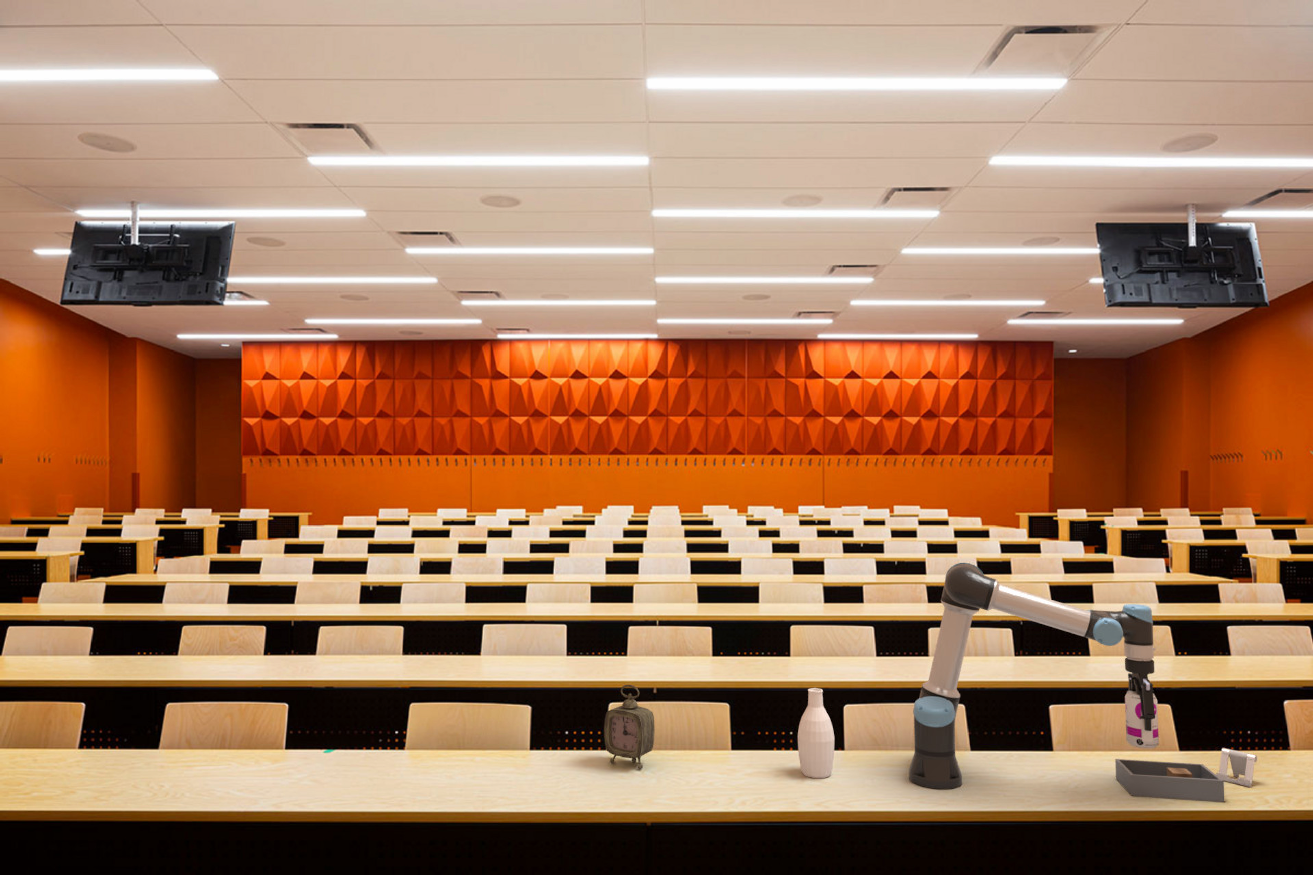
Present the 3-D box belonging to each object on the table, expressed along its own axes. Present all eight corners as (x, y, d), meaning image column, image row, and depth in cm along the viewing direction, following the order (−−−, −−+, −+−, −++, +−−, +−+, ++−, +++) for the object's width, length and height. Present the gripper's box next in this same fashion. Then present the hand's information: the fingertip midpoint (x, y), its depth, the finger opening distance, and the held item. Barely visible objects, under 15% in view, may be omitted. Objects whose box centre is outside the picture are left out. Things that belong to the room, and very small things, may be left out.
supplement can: (1163, 749, 247) (1161, 696, 247) (1131, 748, 248) (1130, 695, 249) (1153, 741, 255) (1151, 690, 255) (1122, 740, 256) (1120, 688, 257)
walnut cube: (1173, 790, 246) (1172, 772, 247) (1167, 784, 251) (1166, 767, 252) (1193, 792, 245) (1192, 774, 246) (1186, 786, 250) (1185, 768, 250)
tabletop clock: (603, 764, 274) (603, 684, 275) (619, 756, 281) (619, 679, 283) (642, 772, 266) (642, 690, 267) (657, 764, 274) (657, 684, 275)
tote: (1131, 795, 245) (1131, 774, 245) (1115, 778, 259) (1115, 758, 259) (1224, 801, 240) (1223, 780, 240) (1203, 784, 254) (1202, 764, 254)
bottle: (820, 765, 272) (819, 684, 273) (842, 776, 262) (841, 691, 263) (790, 770, 267) (790, 687, 268) (812, 782, 257) (811, 695, 258)
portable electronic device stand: (1216, 780, 258) (1215, 751, 258) (1226, 774, 263) (1225, 746, 263) (1249, 788, 251) (1248, 758, 251) (1259, 782, 256) (1258, 753, 256)
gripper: (1166, 666, 242) (1169, 748, 241) (1141, 651, 262) (1144, 727, 261) (1137, 665, 243) (1140, 746, 242) (1114, 650, 264) (1117, 726, 263)
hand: (1142, 736), depth 252 cm, fingers closed on supplement can, 8 cm apart
